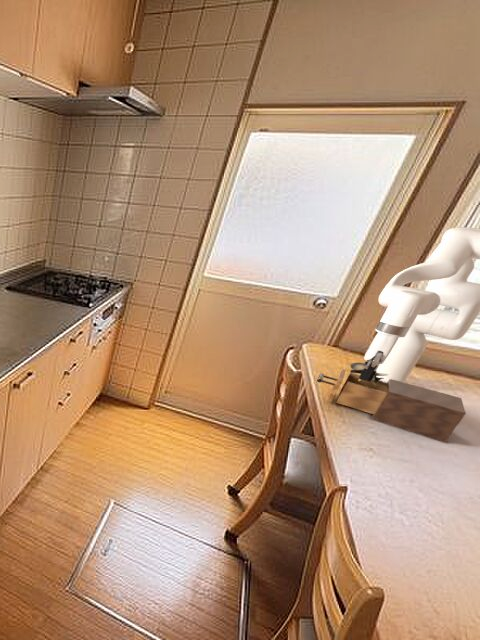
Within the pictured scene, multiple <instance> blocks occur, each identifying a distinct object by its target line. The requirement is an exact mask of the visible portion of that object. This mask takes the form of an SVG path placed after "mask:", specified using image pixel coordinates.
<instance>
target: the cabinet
mask: <svg viewBox="0 0 480 640" xmlns="http://www.w3.org/2000/svg"><path fill="white" fill-rule="evenodd" d="M387 383H388V393H387V394H386V396H385V398H384V399H383V401H382V403H381V404H380V406H379V408H378V409H377V411H376V413H375V414H372V415H371V416H372V417H371V420H373V421H376V422H379V423H383V424H386V425H389V426H392V427H395V428H398V429H400V430H405V431H408V432H410V433H414V434H417V435H421V436H423V437H426V438H429V439H432V440H436V441H439V442H442V443H446V442H447V440H448V439H449V437H450V436H451V435H452V434H453V432H454V431H455V429H456V428H457V426H458V425H459V424H460V422H461V421H462V419H463V418H464V417H465V415H466V414H467V413H466V410H465V405H464V402H463V399H462V397H459V396H455V395H451V394H448V393H444V392H441V391H437V390H434V389H430V388H425V387H422V386H418V385H414V384H411V383H408V384H407V382H406V383H404V382H400V381H396V380H393V379H389V381H388V382H387Z"/></svg>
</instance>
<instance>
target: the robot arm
mask: <svg viewBox="0 0 480 640" xmlns="http://www.w3.org/2000/svg"><path fill="white" fill-rule="evenodd" d="M474 259H475V260H480V228H477V227H469V226H468V227H463V226H462V227H461V226H460V227H459V226H458V227H452V228H449V229H448V230H446V231H445V232H444V234H443V235H442V237H441V241H440V243H439V244H438V246H437V247H436V248H435V249H434V251H433V252H432V253H431V254H430V256H429V257H428V258H427V259H426V261H425V262H422V263H418V264H415V265H413V266H410V267H408V268H406V269H403V270H402V271H400V272H398V273H396V274H395V275H394V276H393V277H391V279H390V280H389V282H388V283H387V284H386V285H385V286H384V288H383V289H382V291H381V292H380V294H379V295H378V299H377V301H378V303H379V305H380V306H382V307H385V308H386V309H385V311H384V313H383V315H382V317H381V318H380V320H379V322H378V324H377V326H376V328H375V329H374V331H375V332H377V333H376V334H375V336H374V338H373V339H372V341H371V343H370V345H369V347H368V349H367V350H366V352H365V353H364V357H363V360H364V361H365V362H364V363H365V364H367V366H366V368H364V369H363V371H362V373H361V374H359V375H360V376H359V379H361V380H365V381H368V382H370V381H371V380H372V378H373V377H374V375H375V373H376V371H377V373H386V374H388V375H387V376H376V377H378V378H384V379H381V380H379V381H383V382H386V383H387V382H388V381H389V379H393V380H396V381H400V382H404V383H407V382H406V381H407V379H408V378H409V377H410V374H411V373H412V371H413V370H414V368H415V366H416V365H417V363H418V362H419V360H420V358H421V357H422V355H423V354H424V352H425V351H426V349H427V347H428V341H427V338H426V336H425V335H429V336H433V337H438V338H442V339H445V340H451V341H456V340H459V339H461V338H463V337H464V336H465V335H466V334H467V332H468V331H469V330H470V328H471V326H472V325H473V324H474V322H475V320H476V319H477V317H478V315H479V314H480V283H479V282H478V283H477V282H472V281H468V278H469V276H470V275H471V274H472V272H473V271H474V268H475V262H474ZM423 281H424V282H425V281H429V283H428V284H427V286H426V288H425V290H424V289H419V288H416V287H409V286H405V285H407V284H411V283H416V282H423ZM439 306H442V307H446V308H451V309H456V310H458V312H455V311H450V310H446V309H442V308H438V307H439ZM407 384H409V383H407Z"/></svg>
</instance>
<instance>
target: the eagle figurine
mask: <svg viewBox="0 0 480 640" xmlns="http://www.w3.org/2000/svg"><path fill="white" fill-rule="evenodd" d="M366 366H367V364H365V362H357V361H356V362H353V363H350V364H349V367H350V370H349V373H354V374H358V375H361V373H362V371H363V369H364V368H366ZM387 375H388V374H386V373H377V371H376V373H375V375H374V377H373V378H372V381H373V384H374V385H375V386H376V385H377V383H378V382H382V381H379V380H381V379H384V378H378V377H376V376H387ZM359 381H361V379H359Z"/></svg>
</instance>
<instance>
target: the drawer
mask: <svg viewBox="0 0 480 640" xmlns="http://www.w3.org/2000/svg"><path fill="white" fill-rule="evenodd" d="M346 372H347V371H346V369H345V368H344V369H343V368H341V369H340V372H339V374H338V375H337V377H336V378H335V377H332V376H328V375H325V374H324V373H320V374H319V375H318V377H317V379H316V382H317V383H323V384H328V385H330V386H332V387H331V389H330V391H329V394H328V396H327V399H326V402H327V403H332V401H333V399H334V397H335V396H336V393H337V391H338V390H339V388H340V386H341V384H342V383H343V380H344V378H345V374H346ZM360 375H361V374H358V373H351V372H349V374H348V376H347V378H346V380H345V382H344V383H343V385H342V387H341V389H340V391H339V393H338V396H337V399H336V402H335V403H337V404H339V405H342V406H346V407H349V408H352V409H355V410H358V411H361V412H365V413H368V414H372V415H373V414H375V413H376V411H377V409H378V408H379V406H380V404H381V403H382V401H383V399H384V398H385V396H386V394H387V393H388V383H386V382H383V381H382V382H378V383H377V385H376V386H375V385H374V384H373V381H372V380H371V381H370V382H368V381H365V380H361V381H359V376H360ZM324 378H325V379H328V380H332V381H334V382H331V381H327V380H325V379H324Z"/></svg>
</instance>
